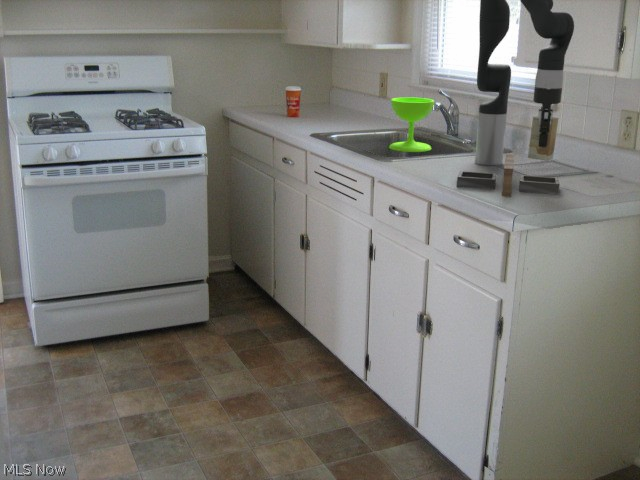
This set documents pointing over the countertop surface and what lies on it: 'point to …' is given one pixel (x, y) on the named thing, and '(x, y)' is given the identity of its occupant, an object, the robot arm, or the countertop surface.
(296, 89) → the paper cup
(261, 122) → the countertop surface
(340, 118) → the countertop surface
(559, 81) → the robot arm
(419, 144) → the wineglass
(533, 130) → the skincare box
